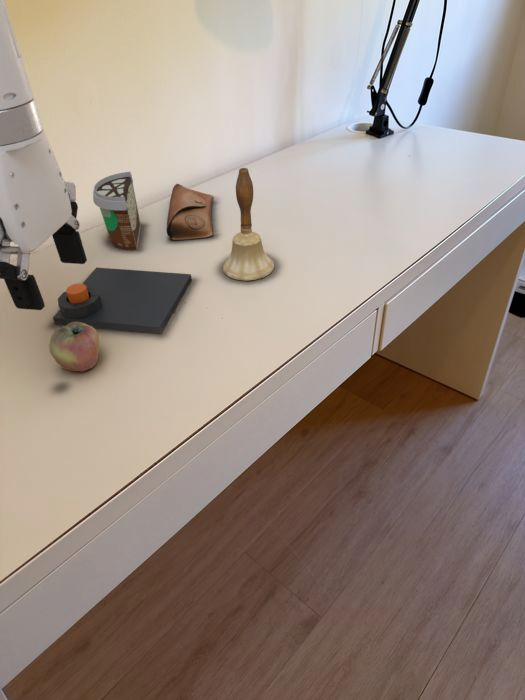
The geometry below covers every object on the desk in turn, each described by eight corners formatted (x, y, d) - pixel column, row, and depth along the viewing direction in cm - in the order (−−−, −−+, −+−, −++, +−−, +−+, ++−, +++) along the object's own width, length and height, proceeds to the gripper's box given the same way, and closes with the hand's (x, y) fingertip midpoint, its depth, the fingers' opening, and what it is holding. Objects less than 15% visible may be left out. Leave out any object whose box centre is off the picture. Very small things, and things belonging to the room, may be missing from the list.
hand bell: (243, 250, 89) (236, 156, 79) (284, 263, 85) (282, 165, 75) (212, 272, 84) (200, 173, 74) (254, 286, 80) (247, 185, 70)
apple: (48, 388, 64) (32, 351, 61) (65, 347, 70) (52, 311, 67) (97, 386, 64) (84, 349, 61) (110, 345, 70) (99, 309, 67)
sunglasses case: (216, 234, 93) (192, 205, 89) (184, 255, 95) (160, 228, 91) (214, 194, 107) (193, 168, 103) (186, 213, 109) (165, 188, 105)
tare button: (65, 303, 74) (62, 293, 73) (74, 292, 76) (71, 282, 75) (83, 305, 74) (80, 294, 73) (92, 294, 76) (89, 284, 75)
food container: (108, 225, 99) (95, 173, 93) (141, 222, 100) (130, 170, 93) (100, 257, 90) (85, 201, 83) (136, 254, 90) (124, 198, 84)
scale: (55, 324, 75) (48, 307, 73) (97, 273, 85) (93, 257, 84) (161, 334, 72) (157, 316, 70) (191, 280, 83) (189, 263, 81)
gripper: (14, 101, 56) (61, 246, 67) (-105, 156, 43) (-22, 326, 54) (78, 100, 55) (116, 249, 65) (-24, 157, 41) (44, 332, 52)
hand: (54, 283), depth 59 cm, fingers open, 9 cm apart
